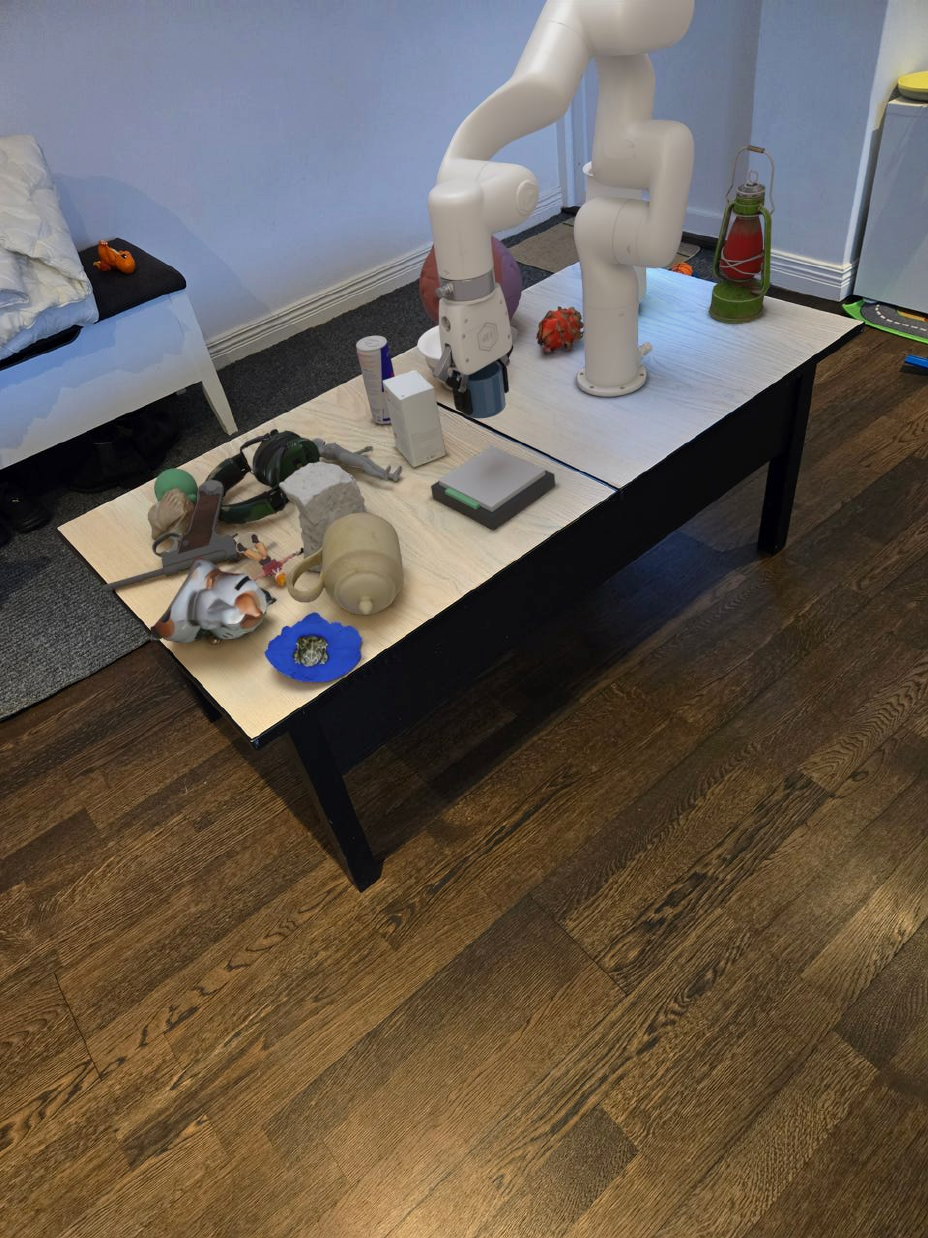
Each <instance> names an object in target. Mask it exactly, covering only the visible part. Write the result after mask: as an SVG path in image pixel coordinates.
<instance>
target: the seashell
mask: <svg viewBox="0 0 928 1238" xmlns="http://www.w3.org/2000/svg"><path fill="white" fill-rule="evenodd" d="M194 504H195V503H192V502H191V501H190V500H189V499H188V496H187V495H186V494H185V493H183V491H182V490H180V489H178V488H177V489H171V490H170V491H167V492H166V493H165V494H164V495H163V497H162V499H161V501H159V502H158V501H156V503H155V504H153V505H152V506H151V507H150V508H149V509H148V512H147V521H148V522H149V526H150V528H151V535H150V537H151V539H152V540H153V541H156V540H157V539H158V538H160V537H161V536H163V535H164V534H166V533H177V534H179V535H186V534H187V532H188V530H189V527H190V524H191V521H192V517H193V514H194V510H195V507H196V505H194ZM175 538H176V539H177V540H178V542H181V540H180V538H179V537H176V536H175ZM166 541H170V542H174V540H173V539H172V538H168V539H166Z"/></svg>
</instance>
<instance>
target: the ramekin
mask: <svg viewBox="0 0 928 1238" xmlns="http://www.w3.org/2000/svg"><path fill="white" fill-rule="evenodd" d="M460 375H461V373H460V372H458V376H457V380H458V381H459V380H460ZM466 388H467V389H469V390H470V393H471V401H472V408H473V413H472V414H471V415H467V414H465V413H462V415H464V416H465V417H468V418H471V419H476V420H477V419H480V420H481V419H487V418H491V417H494V416H497V415H498V414H500V413H502V412H503V411H504V410H505V408H506V406H507V402H506V393H505V390H504V381H503V371H502V365H501V364H500V363H499V362H497V361H494V362H492V363H491V364H489V365H487V366H485V367H484V368H482V369H480V370H478V371H477V372H475V373H473V374H470V375H469V378H468V382H467V387H466Z"/></svg>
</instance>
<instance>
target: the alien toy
mask: <svg viewBox="0 0 928 1238" xmlns="http://www.w3.org/2000/svg"><path fill="white" fill-rule="evenodd" d="M177 488H178V489H180V490H182V491H183V493H185V494H186V495H187V496H188V499H189V500H190V501H191V502H192V503H193V504H195V503H197V500H198V497H197V490H198V488H199V486H198V484H197V480H196V479H195V478H194V476H193V475H192V474H190V473H189V472H188V471H186V470H184V469H183V468H182V469H181V468H169V469H166V470H164V471H162V472H161V473H160V474H159V475H158V476H157V477H156V480H155V481H154V487H153V489H154V491H153V492H154V495H155V499H156V500H157V502H159V501H161V499H162V497H163V495H164V494H165V493H166V492H167V491H170V490H171V489H177Z"/></svg>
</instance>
